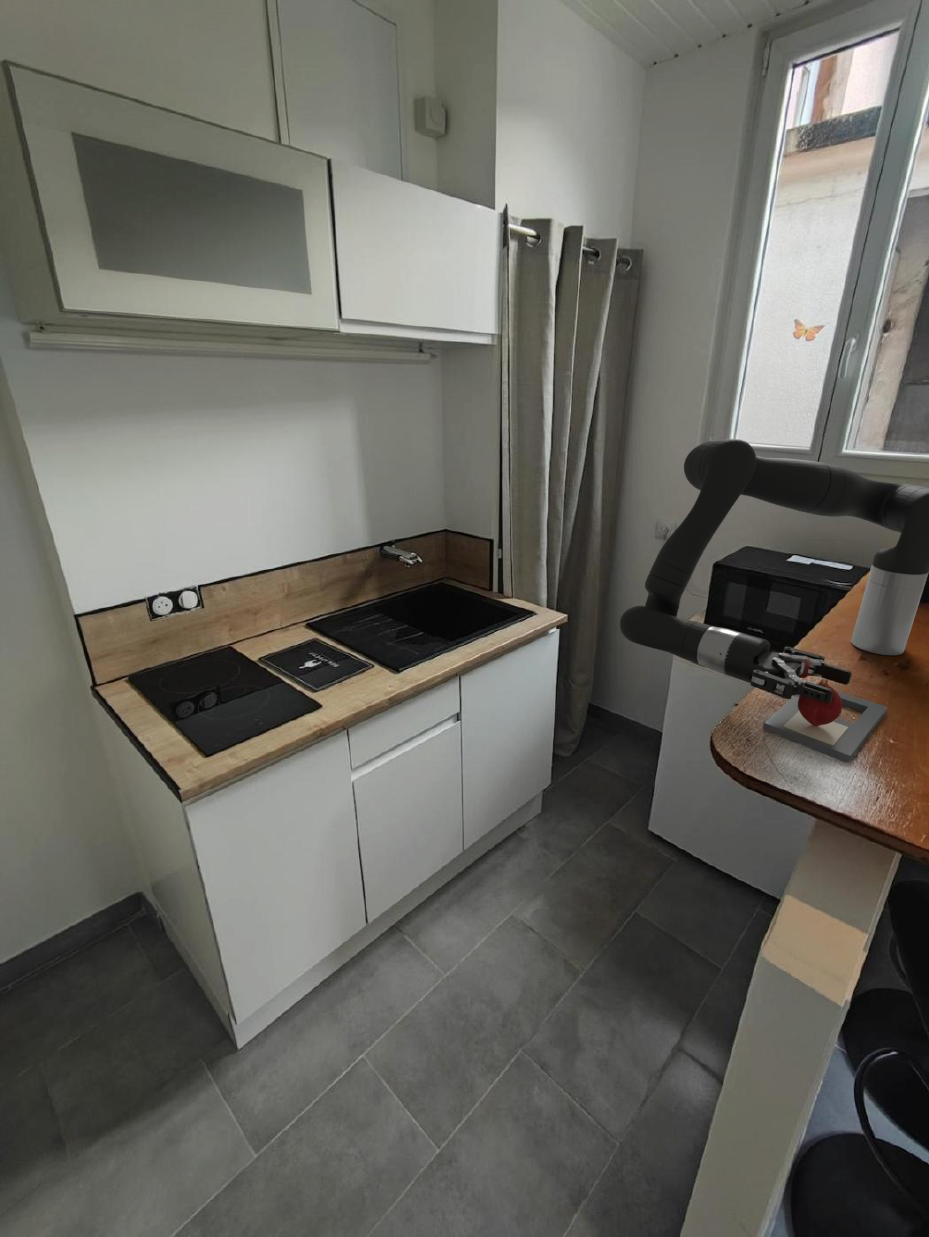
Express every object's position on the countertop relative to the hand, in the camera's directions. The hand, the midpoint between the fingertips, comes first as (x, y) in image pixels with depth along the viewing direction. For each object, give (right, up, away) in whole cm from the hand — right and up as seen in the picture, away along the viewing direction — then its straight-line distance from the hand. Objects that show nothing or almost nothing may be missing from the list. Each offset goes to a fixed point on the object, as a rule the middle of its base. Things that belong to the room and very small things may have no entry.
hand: (841, 687), depth 85 cm
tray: (+3, -6, +8) cm, 11 cm away
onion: (-1, -7, +4) cm, 8 cm away
